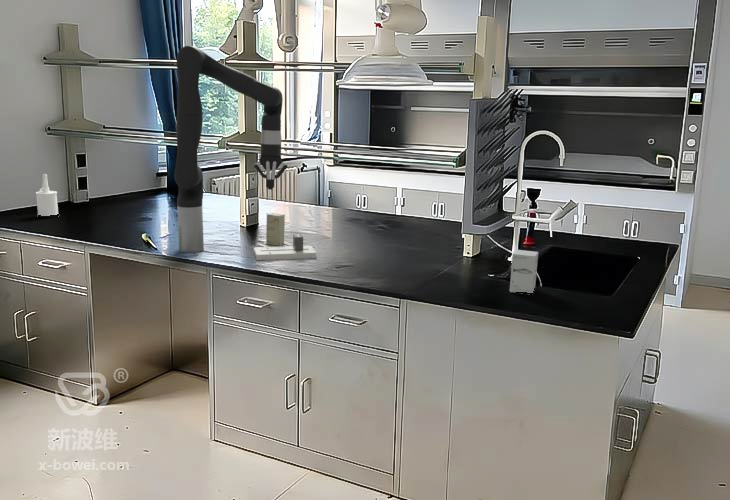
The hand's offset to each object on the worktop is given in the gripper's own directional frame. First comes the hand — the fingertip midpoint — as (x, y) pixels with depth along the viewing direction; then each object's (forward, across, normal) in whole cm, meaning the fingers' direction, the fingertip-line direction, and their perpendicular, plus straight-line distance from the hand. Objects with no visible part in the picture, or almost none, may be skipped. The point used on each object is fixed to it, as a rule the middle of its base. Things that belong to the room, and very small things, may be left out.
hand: (270, 189), depth 262 cm
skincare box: (+24, +4, +14) cm, 29 cm away
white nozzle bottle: (+27, -96, +88) cm, 133 cm away
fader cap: (+22, +10, -6) cm, 25 cm away
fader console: (+24, +5, -6) cm, 25 cm away
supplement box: (+22, +74, -64) cm, 101 cm away
